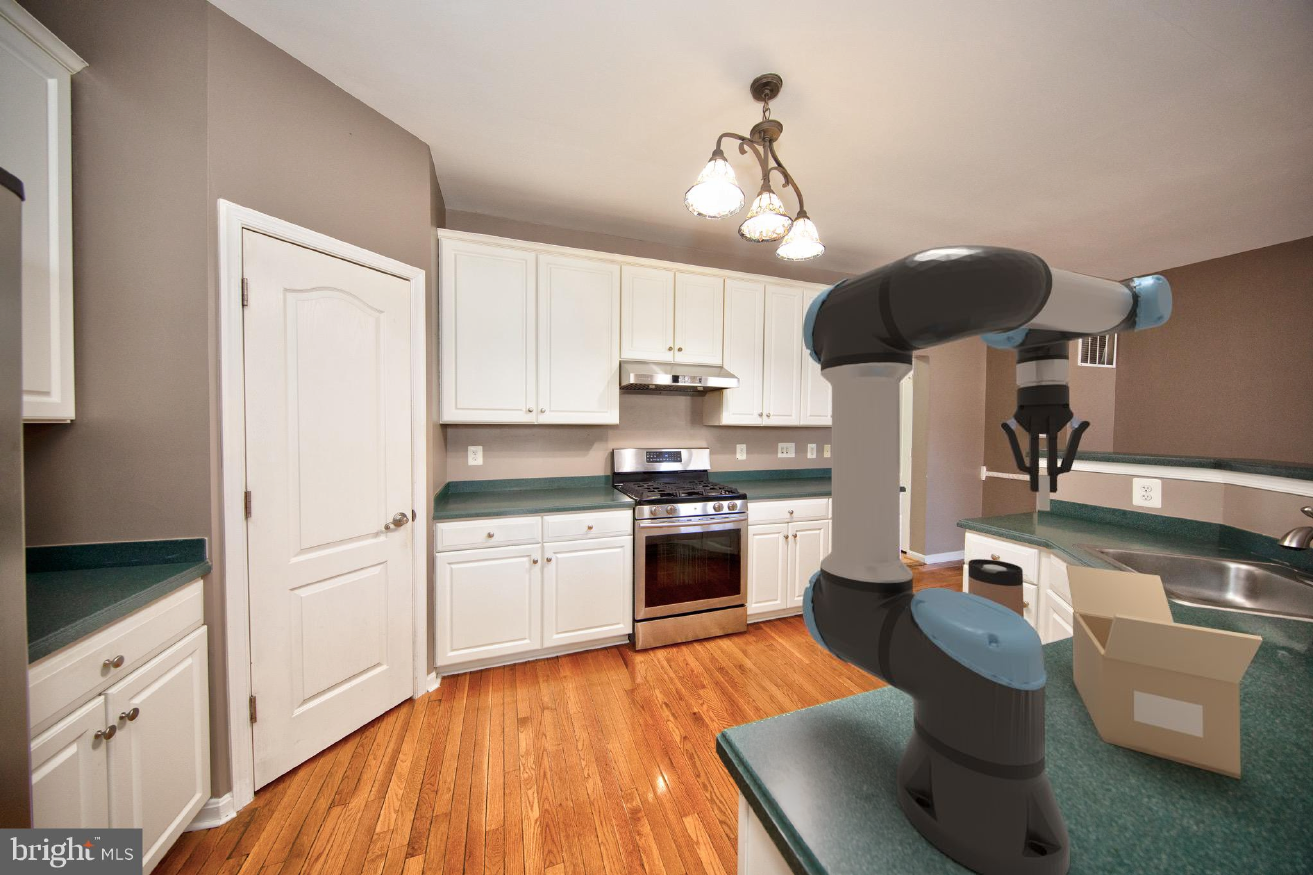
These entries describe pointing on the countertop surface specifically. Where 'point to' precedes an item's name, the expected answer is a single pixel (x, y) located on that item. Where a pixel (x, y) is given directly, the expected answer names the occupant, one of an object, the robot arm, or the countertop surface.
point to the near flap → (1181, 647)
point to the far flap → (1117, 593)
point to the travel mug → (997, 583)
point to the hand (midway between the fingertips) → (1043, 509)
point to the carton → (1156, 704)
